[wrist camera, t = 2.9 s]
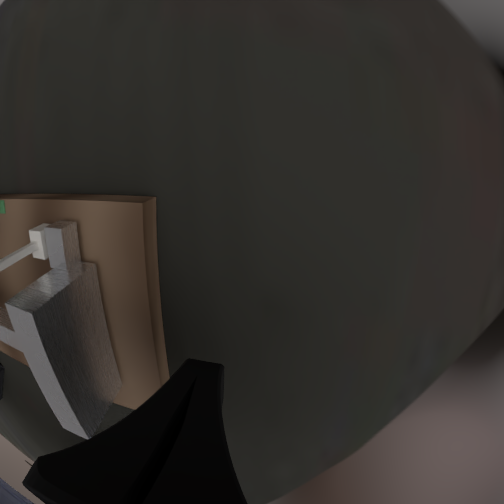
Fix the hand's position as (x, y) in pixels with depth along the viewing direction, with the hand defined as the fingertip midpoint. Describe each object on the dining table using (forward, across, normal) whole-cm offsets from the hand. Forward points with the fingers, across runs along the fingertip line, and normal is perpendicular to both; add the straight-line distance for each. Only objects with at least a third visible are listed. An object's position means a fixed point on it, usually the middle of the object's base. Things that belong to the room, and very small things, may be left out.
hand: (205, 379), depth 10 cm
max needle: (+1, +8, -4) cm, 9 cm away
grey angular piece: (+1, +10, -1) cm, 10 cm away
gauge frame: (+3, +15, 0) cm, 15 cm away
